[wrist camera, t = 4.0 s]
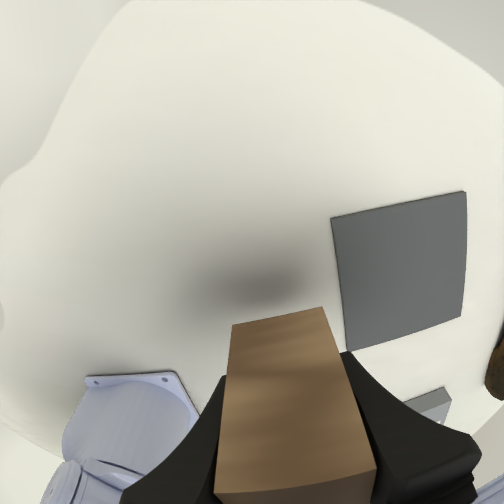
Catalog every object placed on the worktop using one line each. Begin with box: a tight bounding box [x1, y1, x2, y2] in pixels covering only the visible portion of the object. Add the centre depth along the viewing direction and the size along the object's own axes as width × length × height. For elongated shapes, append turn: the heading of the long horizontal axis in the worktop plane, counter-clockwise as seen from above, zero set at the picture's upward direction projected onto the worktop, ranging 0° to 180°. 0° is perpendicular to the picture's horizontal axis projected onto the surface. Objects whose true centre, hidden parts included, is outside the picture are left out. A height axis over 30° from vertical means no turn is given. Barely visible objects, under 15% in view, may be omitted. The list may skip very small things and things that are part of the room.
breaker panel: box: [403, 387, 452, 425], centre depth 24 cm, size 14×12×3 cm
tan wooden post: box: [214, 307, 377, 504], centre depth 10 cm, size 4×4×8 cm
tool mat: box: [331, 191, 467, 352], centre depth 18 cm, size 10×10×1 cm
